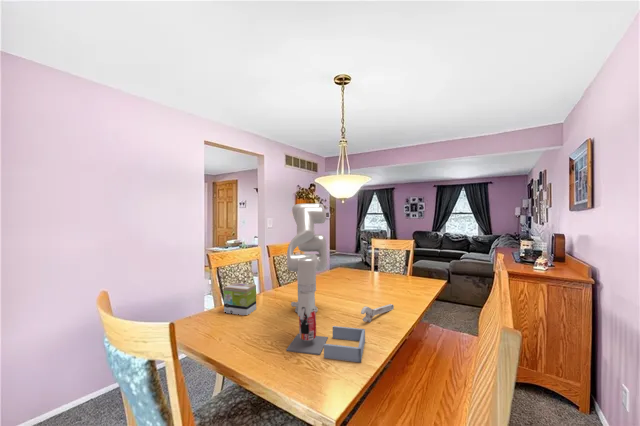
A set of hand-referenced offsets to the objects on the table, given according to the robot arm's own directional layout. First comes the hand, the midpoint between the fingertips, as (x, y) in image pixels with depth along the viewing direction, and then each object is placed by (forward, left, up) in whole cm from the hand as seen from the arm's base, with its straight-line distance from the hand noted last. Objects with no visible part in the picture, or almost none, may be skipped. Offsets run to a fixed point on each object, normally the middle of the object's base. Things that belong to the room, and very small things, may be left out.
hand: (307, 329), depth 113 cm
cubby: (+16, 0, -6) cm, 17 cm away
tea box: (-48, +27, -7) cm, 55 cm away
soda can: (0, 0, -4) cm, 4 cm away
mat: (0, 0, -6) cm, 6 cm away
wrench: (+28, +36, -7) cm, 46 cm away
